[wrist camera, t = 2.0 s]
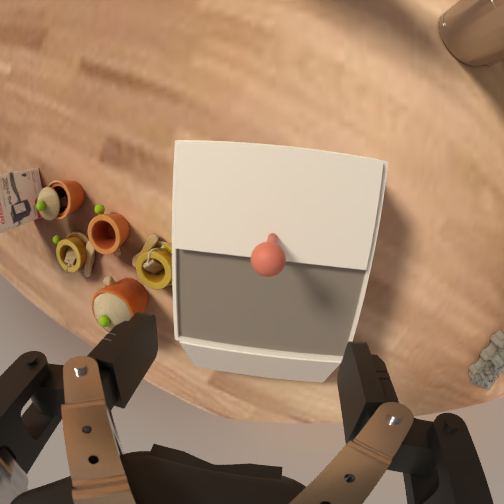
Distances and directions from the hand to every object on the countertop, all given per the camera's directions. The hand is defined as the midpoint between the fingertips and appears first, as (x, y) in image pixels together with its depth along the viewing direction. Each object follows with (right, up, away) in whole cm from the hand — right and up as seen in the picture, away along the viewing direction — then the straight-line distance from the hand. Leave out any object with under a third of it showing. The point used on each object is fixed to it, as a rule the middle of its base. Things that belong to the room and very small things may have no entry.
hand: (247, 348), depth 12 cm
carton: (+3, +2, +28) cm, 29 cm away
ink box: (-37, +14, +30) cm, 49 cm away
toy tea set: (-22, +5, +31) cm, 38 cm away
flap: (+2, +8, +16) cm, 18 cm away
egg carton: (+41, -14, +30) cm, 53 cm away
